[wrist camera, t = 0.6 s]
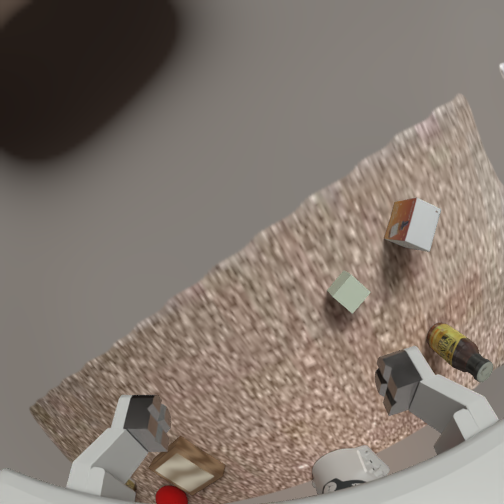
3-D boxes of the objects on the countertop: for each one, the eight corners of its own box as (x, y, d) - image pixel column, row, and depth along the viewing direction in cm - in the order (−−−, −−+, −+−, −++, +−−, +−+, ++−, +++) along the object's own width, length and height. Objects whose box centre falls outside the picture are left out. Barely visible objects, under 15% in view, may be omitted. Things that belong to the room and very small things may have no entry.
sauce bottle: (427, 323, 55) (476, 356, 36) (449, 319, 55) (501, 349, 35) (424, 350, 56) (468, 390, 36) (446, 346, 55) (493, 382, 36)
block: (361, 286, 56) (370, 292, 50) (345, 305, 57) (352, 313, 51) (343, 270, 56) (351, 274, 50) (327, 289, 57) (332, 296, 51)
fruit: (195, 490, 64) (187, 514, 54) (184, 502, 64) (176, 524, 54) (166, 476, 64) (155, 499, 54) (156, 489, 65) (146, 510, 55)
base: (225, 464, 62) (222, 477, 57) (195, 484, 63) (191, 496, 58) (180, 435, 62) (174, 447, 57) (154, 458, 63) (147, 469, 58)
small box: (394, 201, 54) (416, 195, 44) (417, 211, 54) (442, 208, 44) (382, 239, 55) (404, 241, 45) (406, 248, 55) (430, 252, 44)
